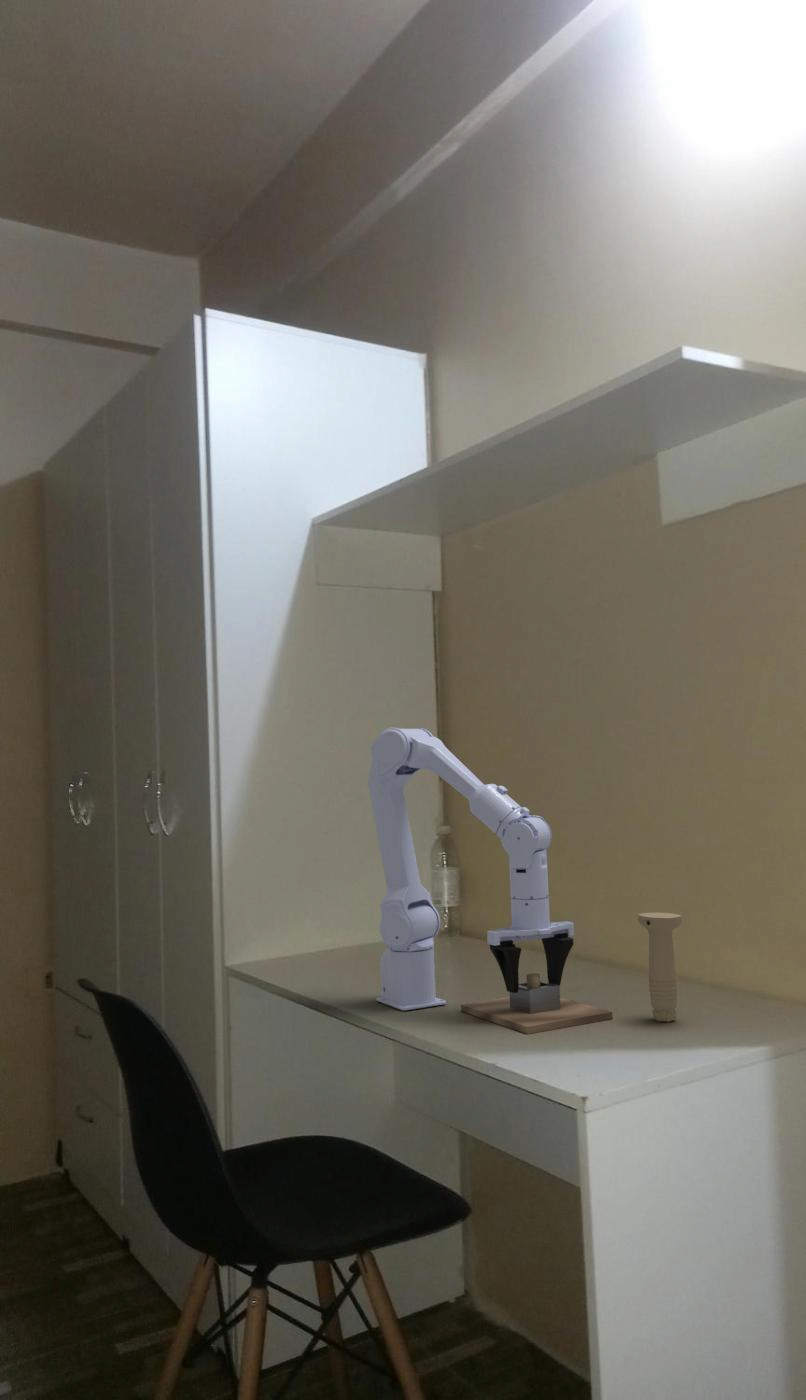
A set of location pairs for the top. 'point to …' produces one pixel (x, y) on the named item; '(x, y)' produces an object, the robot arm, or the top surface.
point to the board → (536, 1022)
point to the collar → (536, 998)
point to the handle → (661, 963)
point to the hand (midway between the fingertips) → (533, 988)
